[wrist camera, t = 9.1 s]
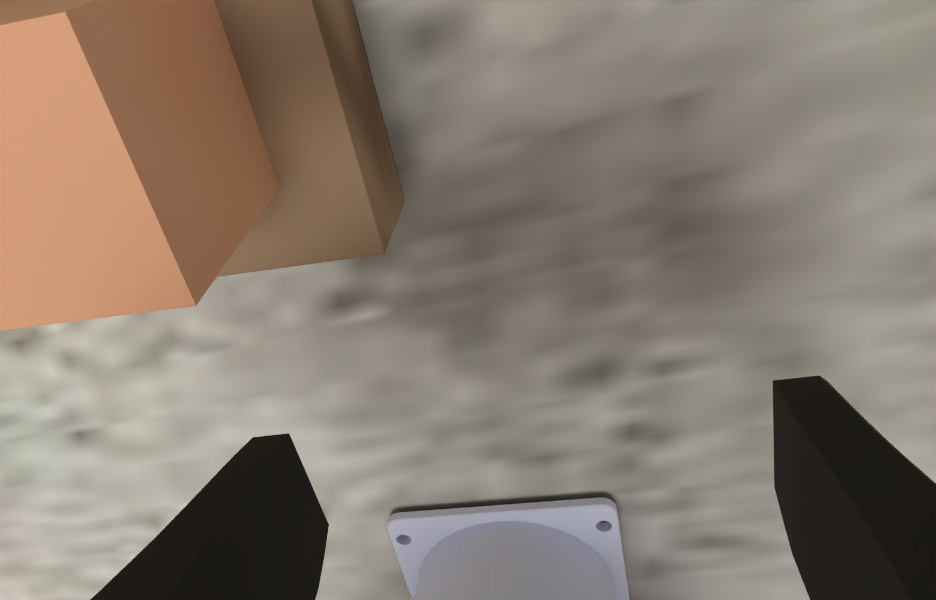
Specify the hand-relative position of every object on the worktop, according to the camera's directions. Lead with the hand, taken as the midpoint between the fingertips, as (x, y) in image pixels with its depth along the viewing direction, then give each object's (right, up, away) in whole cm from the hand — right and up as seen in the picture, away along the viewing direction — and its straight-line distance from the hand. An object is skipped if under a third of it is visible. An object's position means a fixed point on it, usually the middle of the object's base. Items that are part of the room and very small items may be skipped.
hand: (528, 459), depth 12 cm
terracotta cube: (-8, +7, +5) cm, 12 cm away
